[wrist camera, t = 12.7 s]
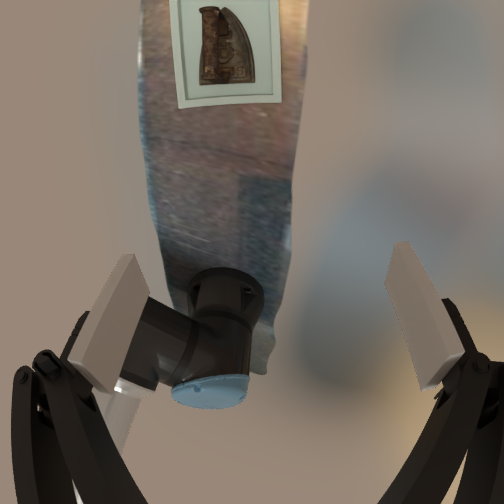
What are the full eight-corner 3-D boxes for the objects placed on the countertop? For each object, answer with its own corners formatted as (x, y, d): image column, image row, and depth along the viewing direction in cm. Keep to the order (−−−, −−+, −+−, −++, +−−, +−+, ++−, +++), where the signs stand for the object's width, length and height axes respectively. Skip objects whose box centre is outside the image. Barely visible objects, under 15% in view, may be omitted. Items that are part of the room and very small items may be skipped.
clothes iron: (202, 91, 32) (169, 81, 23) (203, 18, 28) (174, -9, 19) (255, 88, 31) (238, 74, 22) (255, 13, 26) (240, -20, 18)
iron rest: (280, 100, 33) (281, 102, 31) (184, 105, 34) (178, 108, 32) (276, -16, 22) (276, -21, 21) (175, -6, 24) (168, -9, 22)
